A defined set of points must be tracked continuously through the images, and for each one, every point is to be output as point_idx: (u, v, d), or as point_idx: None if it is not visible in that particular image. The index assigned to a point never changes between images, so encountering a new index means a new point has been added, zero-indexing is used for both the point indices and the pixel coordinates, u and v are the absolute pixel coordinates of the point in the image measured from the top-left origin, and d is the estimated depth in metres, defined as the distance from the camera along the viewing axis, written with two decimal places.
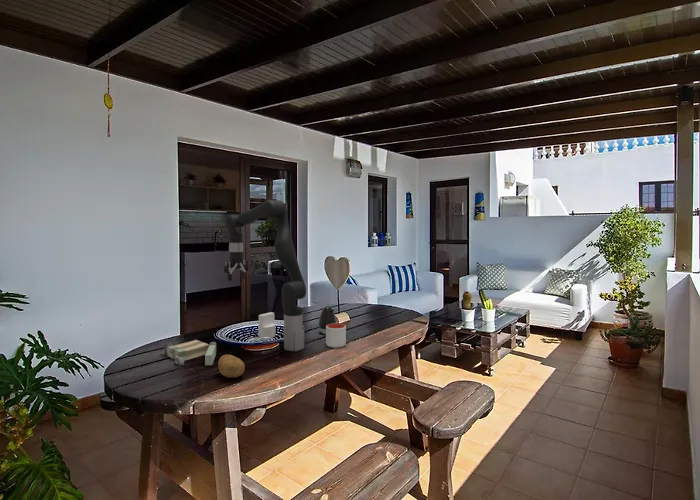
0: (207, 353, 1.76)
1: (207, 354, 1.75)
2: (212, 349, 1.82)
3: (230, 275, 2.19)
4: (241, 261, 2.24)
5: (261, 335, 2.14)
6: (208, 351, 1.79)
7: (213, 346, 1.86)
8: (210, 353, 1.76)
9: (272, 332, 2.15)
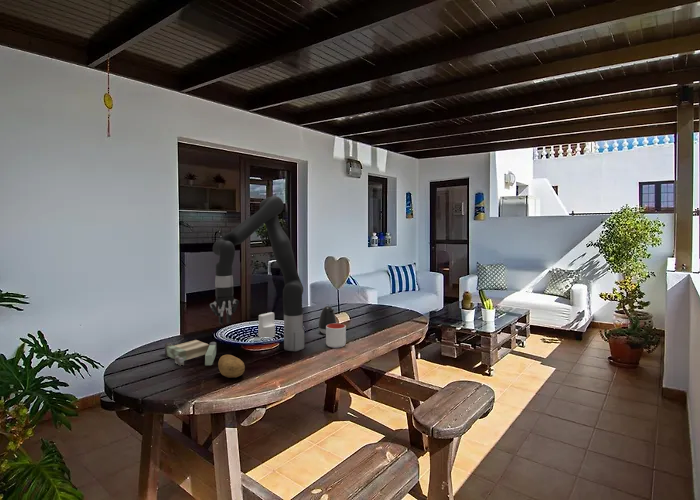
0: (207, 353, 1.76)
1: (207, 354, 1.75)
2: (212, 349, 1.82)
3: None
4: None
5: (261, 335, 2.14)
6: (208, 351, 1.79)
7: (213, 346, 1.86)
8: (210, 353, 1.76)
9: (272, 332, 2.15)
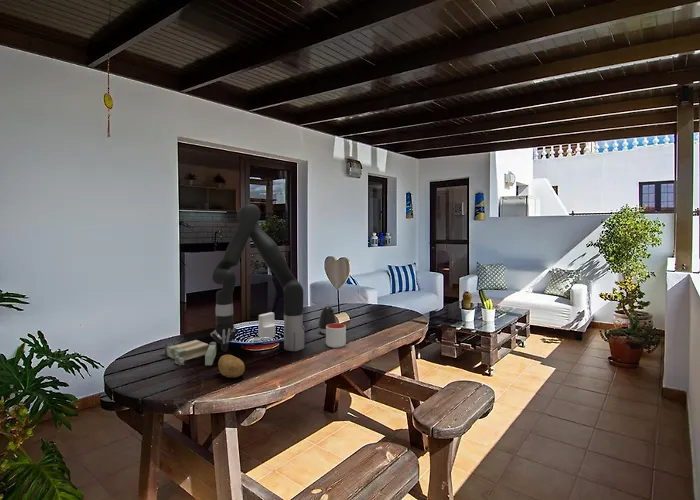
0: (207, 353, 1.76)
1: (207, 354, 1.75)
2: (212, 349, 1.82)
3: None
4: None
5: (261, 335, 2.14)
6: (208, 351, 1.79)
7: (213, 346, 1.86)
8: (210, 353, 1.76)
9: (272, 332, 2.15)
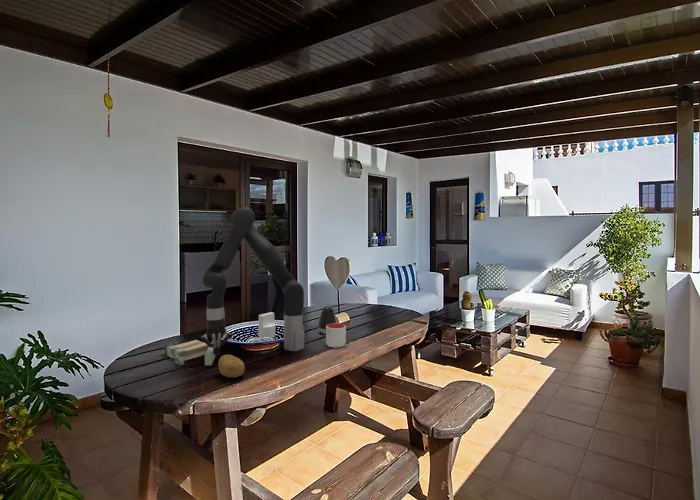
0: (207, 353, 1.76)
1: (207, 354, 1.75)
2: (212, 349, 1.82)
3: None
4: None
5: (261, 335, 2.14)
6: (208, 351, 1.79)
7: None
8: (210, 353, 1.76)
9: (272, 332, 2.15)
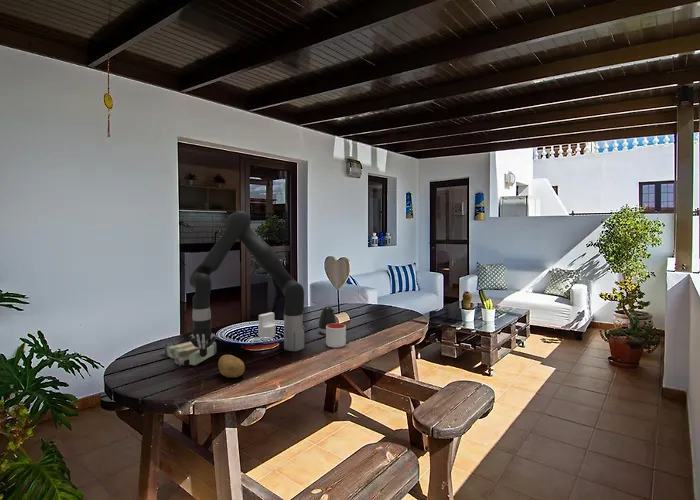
0: (194, 352, 1.77)
1: (192, 354, 1.76)
2: None
3: None
4: None
5: (261, 335, 2.14)
6: (198, 351, 1.79)
7: None
8: (196, 353, 1.76)
9: (272, 332, 2.15)
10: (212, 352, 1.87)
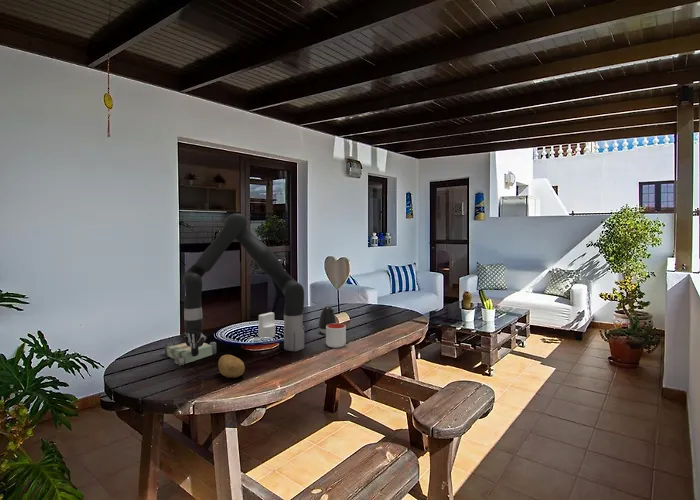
0: (187, 351, 1.79)
1: (185, 352, 1.78)
2: (199, 348, 1.82)
3: None
4: None
5: (261, 335, 2.14)
6: None
7: (207, 346, 1.86)
8: (188, 352, 1.78)
9: (272, 332, 2.15)
10: (210, 352, 1.87)
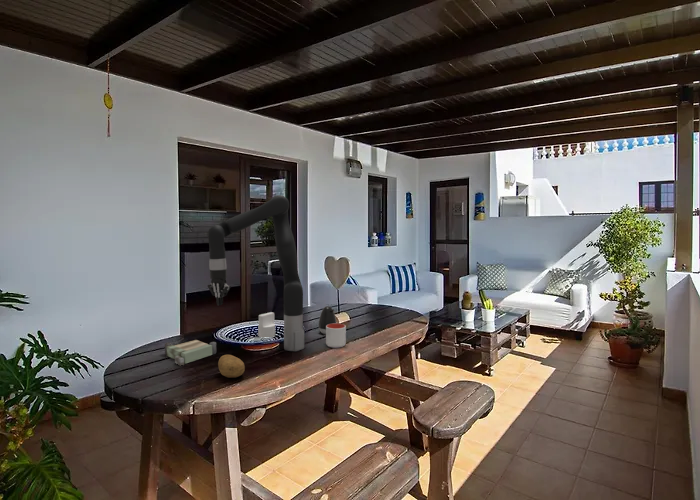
0: (187, 351, 1.79)
1: (185, 352, 1.78)
2: (199, 348, 1.82)
3: None
4: None
5: (261, 335, 2.14)
6: (192, 349, 1.81)
7: (207, 346, 1.86)
8: (188, 352, 1.78)
9: (272, 332, 2.15)
10: (210, 352, 1.87)
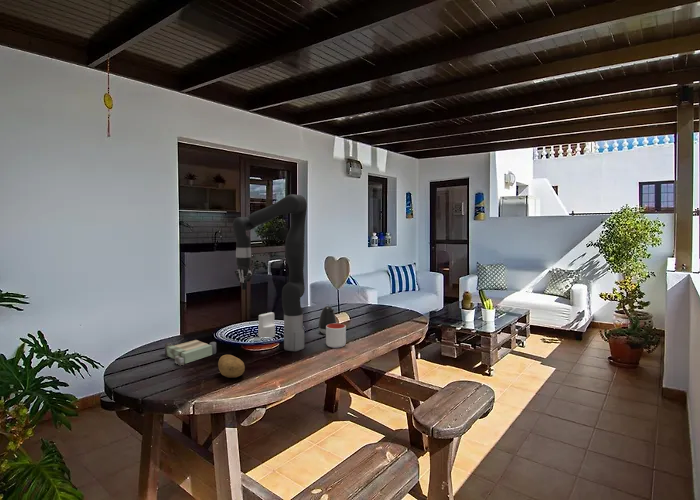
0: (187, 351, 1.79)
1: (185, 352, 1.78)
2: (199, 348, 1.82)
3: None
4: None
5: (261, 335, 2.14)
6: (192, 349, 1.81)
7: (207, 346, 1.86)
8: (188, 352, 1.78)
9: (272, 332, 2.15)
10: (210, 352, 1.87)
